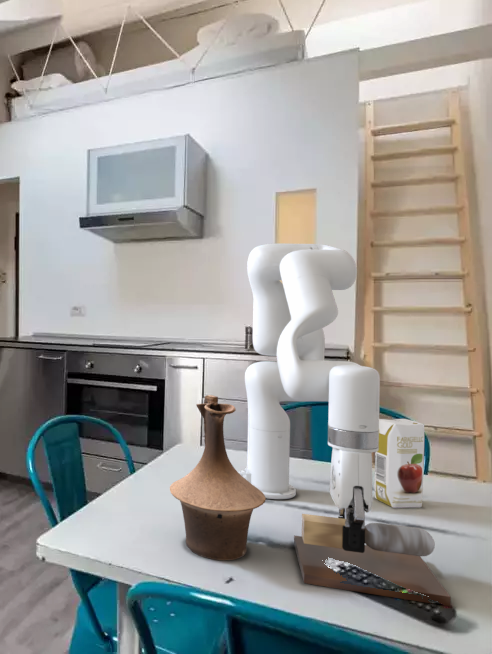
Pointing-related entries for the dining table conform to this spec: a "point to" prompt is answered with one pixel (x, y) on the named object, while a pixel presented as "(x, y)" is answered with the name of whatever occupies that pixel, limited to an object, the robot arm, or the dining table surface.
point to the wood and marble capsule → (368, 536)
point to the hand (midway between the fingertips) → (350, 544)
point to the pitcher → (216, 494)
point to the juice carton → (400, 463)
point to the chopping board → (384, 564)
